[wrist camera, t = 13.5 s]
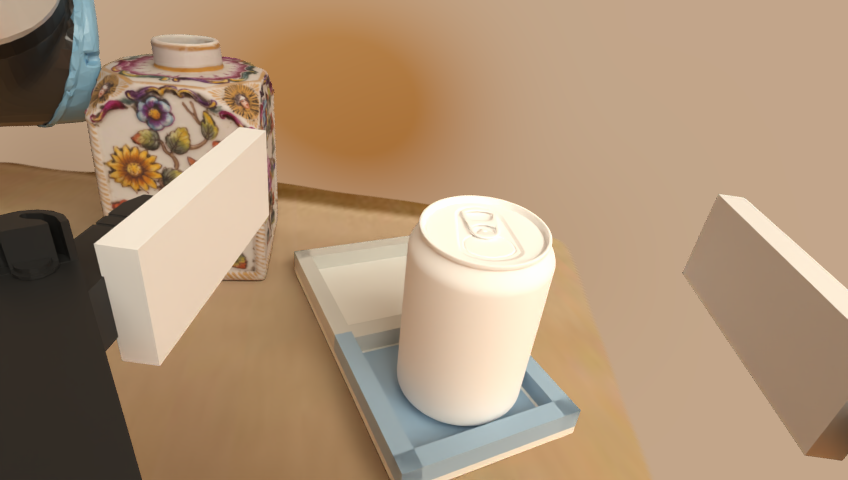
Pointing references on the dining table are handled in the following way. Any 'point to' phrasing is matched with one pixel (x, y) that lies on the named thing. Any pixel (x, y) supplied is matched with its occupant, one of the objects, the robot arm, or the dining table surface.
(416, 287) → the beverage can
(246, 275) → the decorative jar
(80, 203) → the dining table surface
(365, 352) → the divided tray
